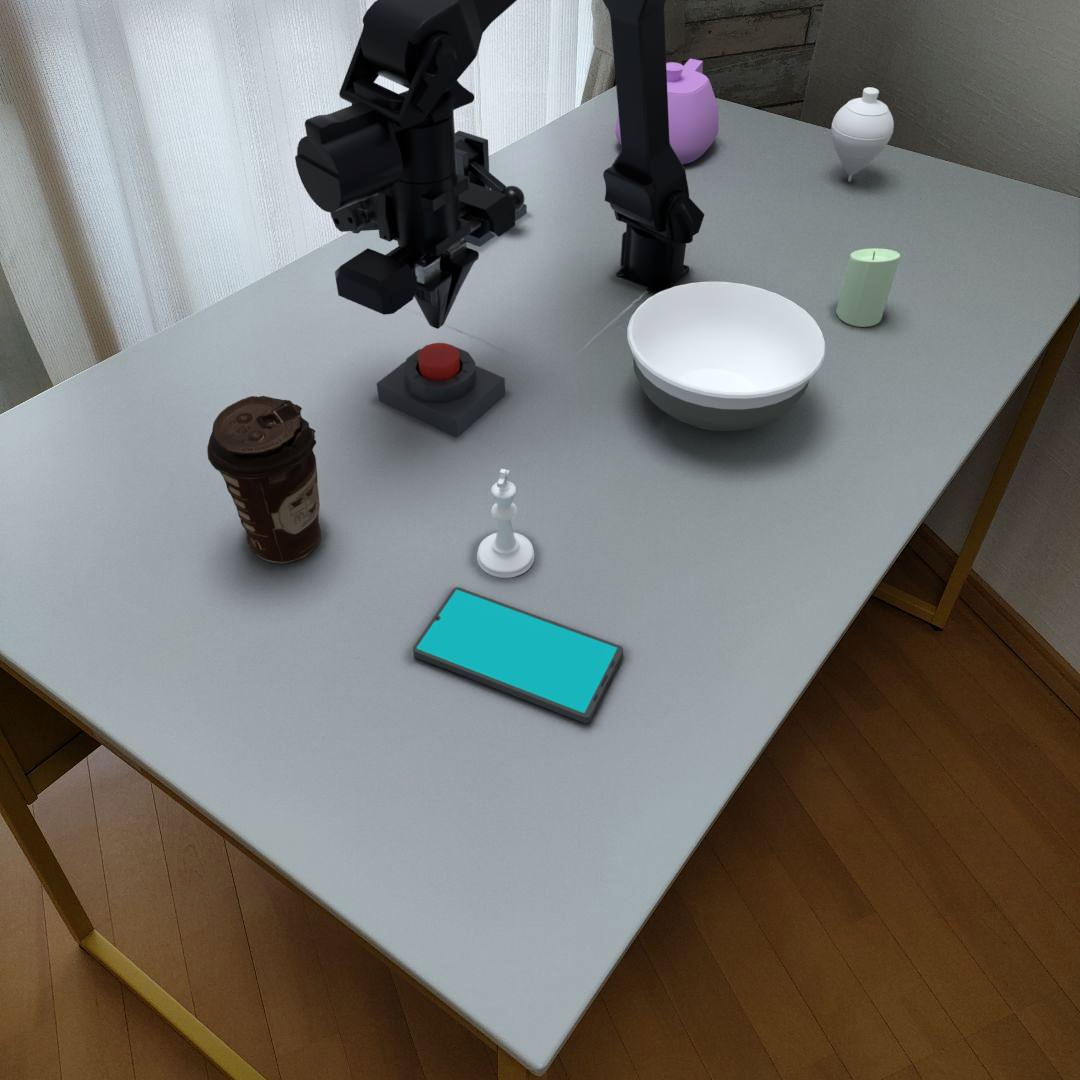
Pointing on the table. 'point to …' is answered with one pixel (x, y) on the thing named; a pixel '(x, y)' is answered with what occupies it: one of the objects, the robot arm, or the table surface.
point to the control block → (442, 394)
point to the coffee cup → (269, 475)
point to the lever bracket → (477, 181)
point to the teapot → (689, 110)
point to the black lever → (490, 177)
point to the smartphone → (520, 653)
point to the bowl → (724, 353)
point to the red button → (439, 361)
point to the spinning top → (861, 130)
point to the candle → (867, 286)
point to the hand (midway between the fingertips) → (436, 325)
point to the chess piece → (505, 536)
